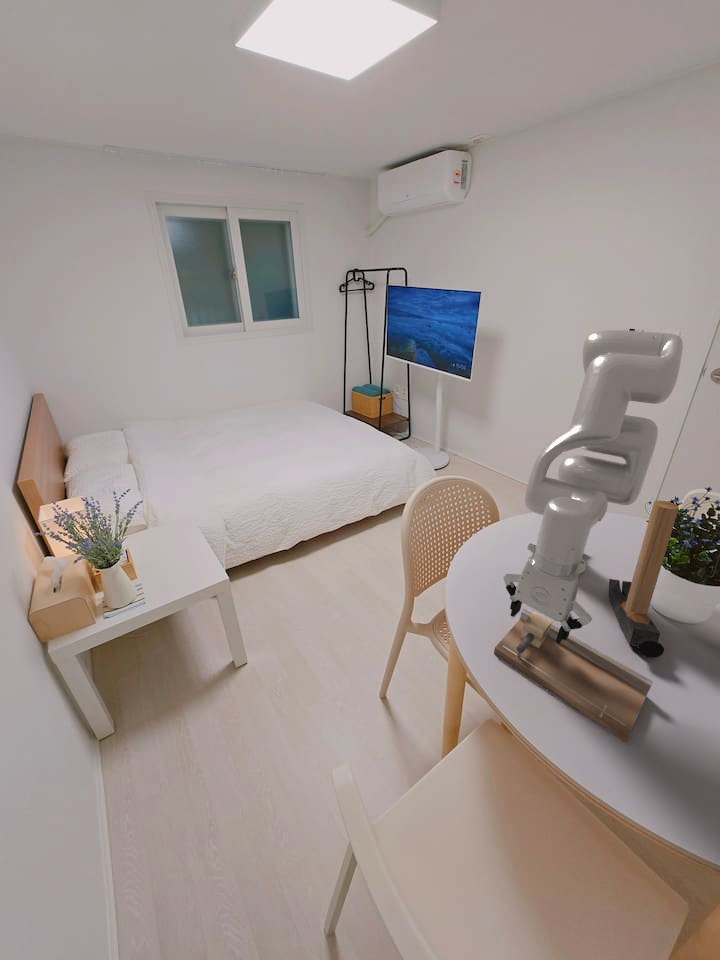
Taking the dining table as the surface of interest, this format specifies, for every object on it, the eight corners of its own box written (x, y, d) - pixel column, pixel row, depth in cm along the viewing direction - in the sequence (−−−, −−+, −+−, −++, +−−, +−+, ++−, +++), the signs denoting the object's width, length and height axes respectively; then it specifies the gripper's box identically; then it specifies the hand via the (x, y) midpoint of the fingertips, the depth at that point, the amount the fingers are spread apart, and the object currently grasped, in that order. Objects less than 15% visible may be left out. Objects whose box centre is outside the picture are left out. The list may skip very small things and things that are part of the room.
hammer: (603, 599, 100) (632, 486, 91) (626, 603, 99) (657, 489, 90) (634, 655, 82) (674, 521, 72) (662, 660, 81) (706, 524, 71)
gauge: (529, 625, 88) (533, 611, 86) (547, 636, 86) (552, 621, 84) (509, 650, 83) (512, 635, 81) (527, 663, 80) (531, 647, 78)
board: (520, 621, 92) (524, 608, 90) (645, 695, 76) (653, 681, 74) (493, 653, 85) (496, 639, 83) (625, 742, 68) (633, 727, 66)
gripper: (502, 548, 79) (490, 612, 87) (596, 593, 68) (572, 662, 75) (520, 533, 83) (507, 595, 91) (611, 572, 72) (587, 639, 80)
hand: (536, 625), depth 83 cm, fingers open, 9 cm apart
